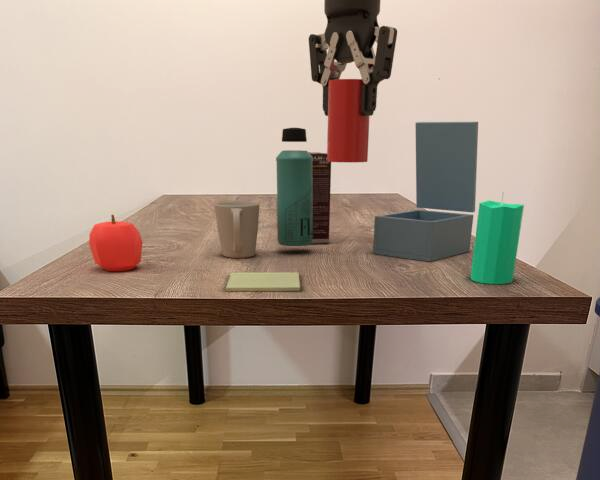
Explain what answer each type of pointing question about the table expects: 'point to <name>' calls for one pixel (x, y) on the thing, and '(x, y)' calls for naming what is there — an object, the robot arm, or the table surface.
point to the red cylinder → (346, 122)
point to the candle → (496, 242)
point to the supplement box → (321, 197)
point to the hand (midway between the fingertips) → (348, 115)
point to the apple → (115, 245)
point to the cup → (237, 227)
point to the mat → (264, 281)
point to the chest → (422, 234)
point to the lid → (446, 165)
